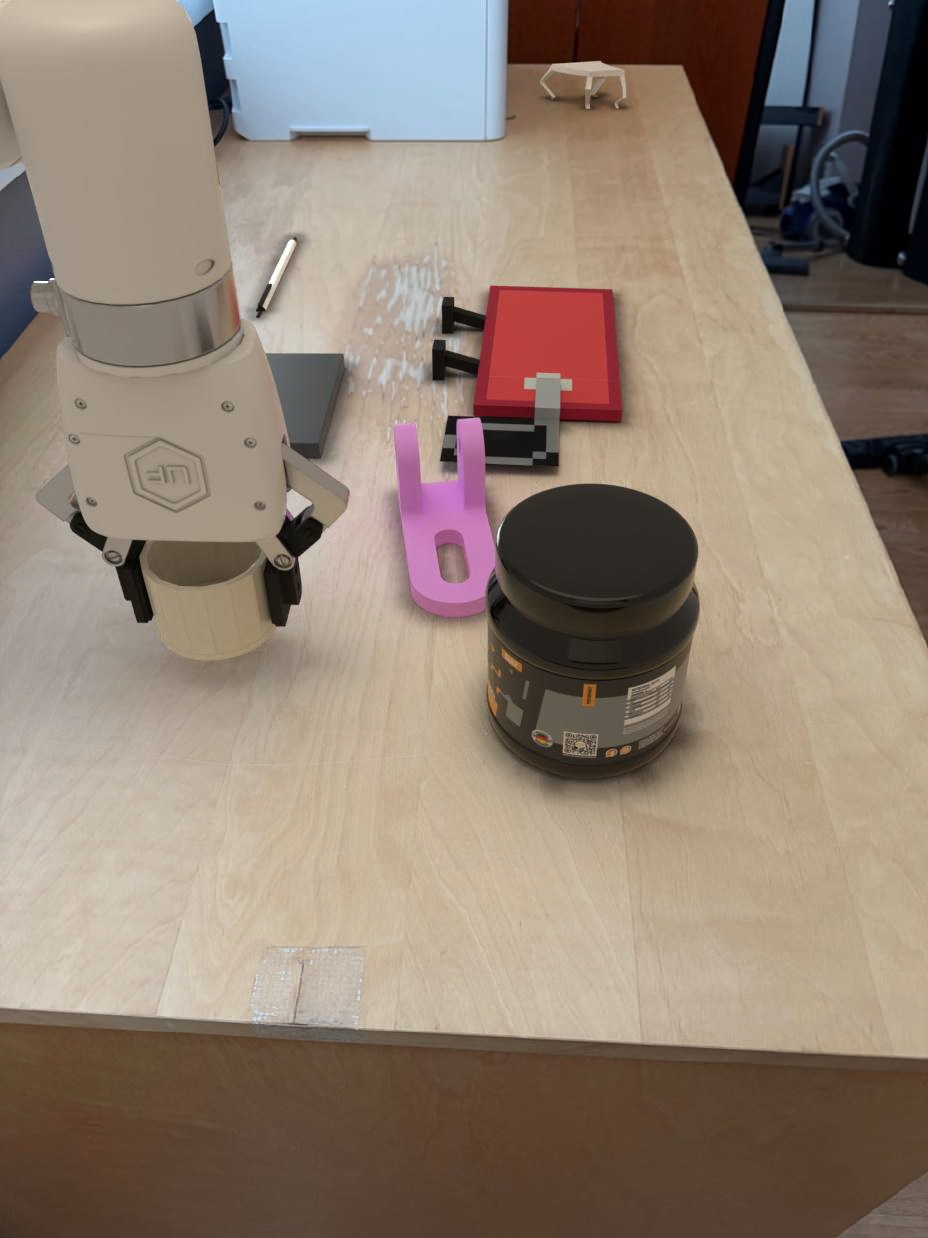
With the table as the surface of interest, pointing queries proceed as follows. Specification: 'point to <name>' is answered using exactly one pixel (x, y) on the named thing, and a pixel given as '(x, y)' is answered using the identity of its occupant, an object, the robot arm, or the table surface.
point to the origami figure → (588, 77)
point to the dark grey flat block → (307, 396)
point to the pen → (275, 277)
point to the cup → (207, 597)
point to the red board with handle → (534, 369)
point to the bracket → (445, 521)
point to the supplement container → (590, 628)
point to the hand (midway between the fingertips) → (217, 606)
